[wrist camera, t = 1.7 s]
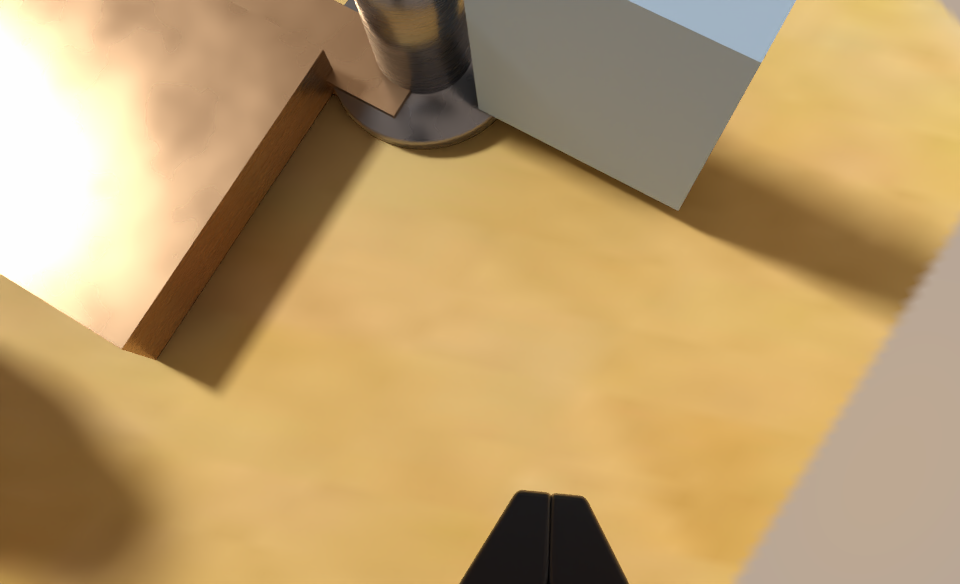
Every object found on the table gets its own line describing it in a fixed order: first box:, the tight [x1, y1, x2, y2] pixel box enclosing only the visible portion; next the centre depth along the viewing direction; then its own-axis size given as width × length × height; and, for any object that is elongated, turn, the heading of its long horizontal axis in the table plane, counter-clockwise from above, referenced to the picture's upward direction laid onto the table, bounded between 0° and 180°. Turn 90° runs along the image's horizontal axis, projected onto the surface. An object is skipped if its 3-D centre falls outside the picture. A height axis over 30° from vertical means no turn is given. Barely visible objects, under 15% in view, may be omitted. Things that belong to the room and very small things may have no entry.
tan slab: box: [0, 0, 497, 360], centre depth 21 cm, size 15×15×7 cm
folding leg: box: [464, 0, 796, 211], centre depth 19 cm, size 9×2×8 cm, turn 60°
